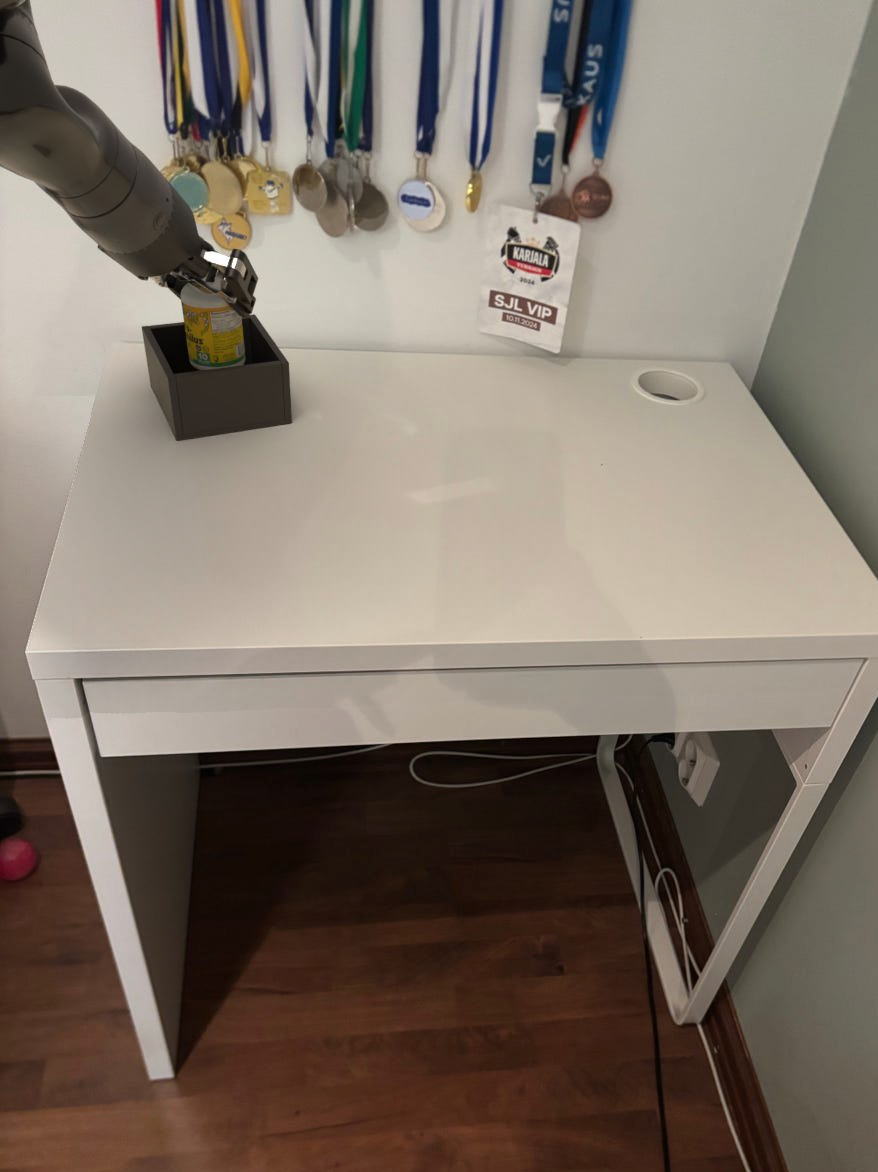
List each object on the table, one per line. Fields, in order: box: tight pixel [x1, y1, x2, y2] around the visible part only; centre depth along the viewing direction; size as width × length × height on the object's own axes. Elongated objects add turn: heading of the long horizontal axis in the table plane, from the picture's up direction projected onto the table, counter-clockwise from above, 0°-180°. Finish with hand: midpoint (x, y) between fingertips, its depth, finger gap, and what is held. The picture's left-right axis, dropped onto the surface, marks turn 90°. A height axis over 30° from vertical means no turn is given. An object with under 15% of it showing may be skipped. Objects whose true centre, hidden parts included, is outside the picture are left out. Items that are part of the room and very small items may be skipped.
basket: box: [141, 313, 293, 441], centre depth 95 cm, size 11×11×6 cm
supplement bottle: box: [180, 273, 245, 371], centre depth 91 cm, size 5×5×10 cm
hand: (219, 300), depth 91 cm, fingers closed on supplement bottle, 5 cm apart
